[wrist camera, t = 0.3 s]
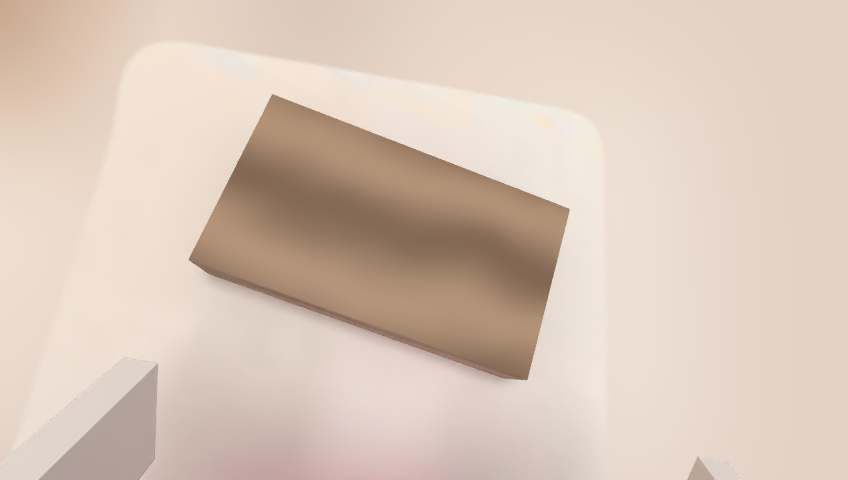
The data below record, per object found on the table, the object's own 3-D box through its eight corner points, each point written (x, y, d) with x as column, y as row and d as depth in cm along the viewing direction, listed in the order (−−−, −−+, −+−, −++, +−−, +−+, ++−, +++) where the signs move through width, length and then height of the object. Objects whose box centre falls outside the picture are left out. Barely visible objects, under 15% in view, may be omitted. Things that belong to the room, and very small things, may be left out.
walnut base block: (501, 378, 28) (527, 380, 24) (210, 275, 27) (188, 259, 23) (541, 228, 31) (569, 209, 27) (281, 129, 30) (272, 94, 26)
